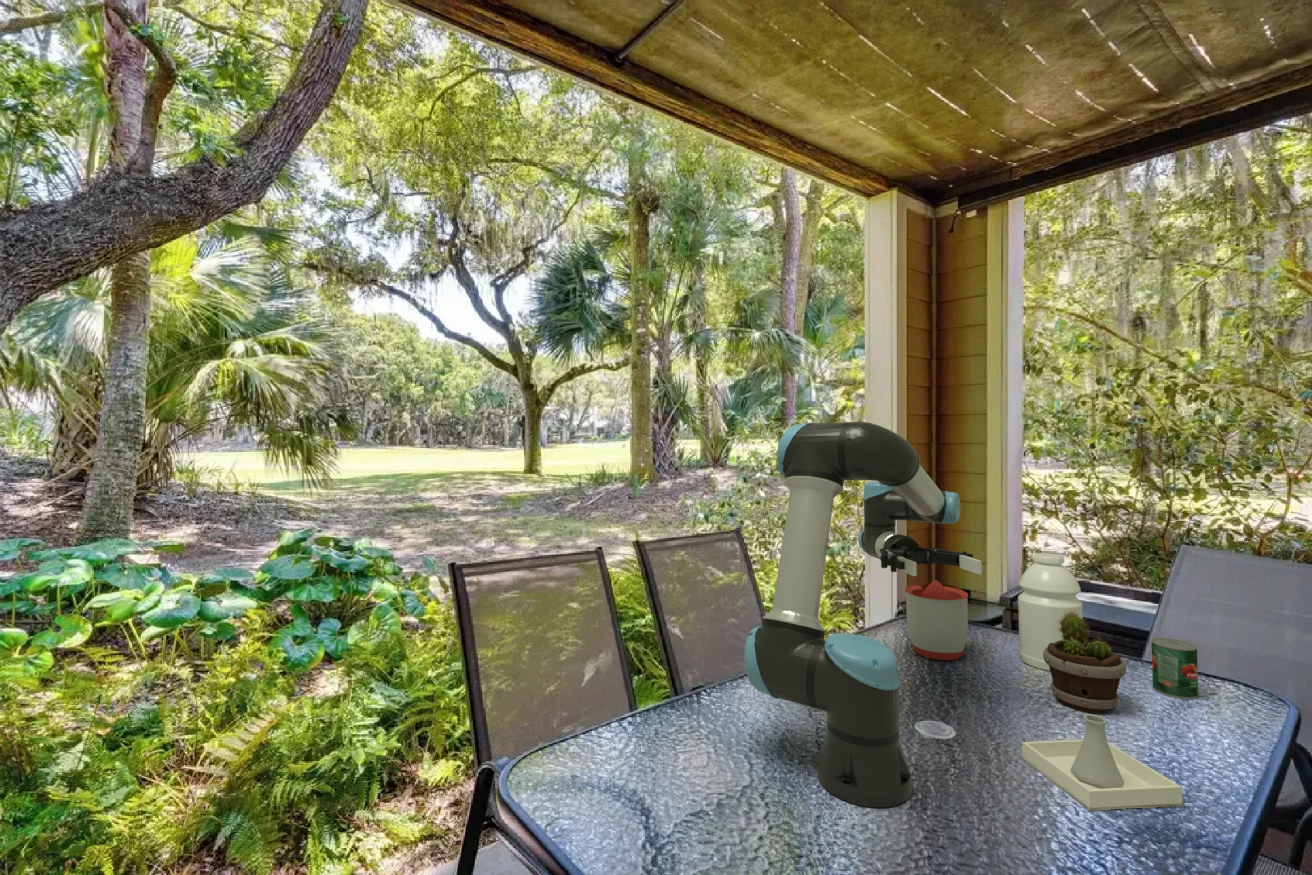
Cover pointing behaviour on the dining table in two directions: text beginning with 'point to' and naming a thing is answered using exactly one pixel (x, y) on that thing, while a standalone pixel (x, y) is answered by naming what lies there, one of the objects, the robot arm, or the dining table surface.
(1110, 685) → the flowerpot
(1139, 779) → the box
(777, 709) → the dining table surface
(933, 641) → the citrus juicer
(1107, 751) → the flask
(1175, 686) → the canned tomato
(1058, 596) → the bottle
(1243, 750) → the dining table surface
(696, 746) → the dining table surface
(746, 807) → the dining table surface
